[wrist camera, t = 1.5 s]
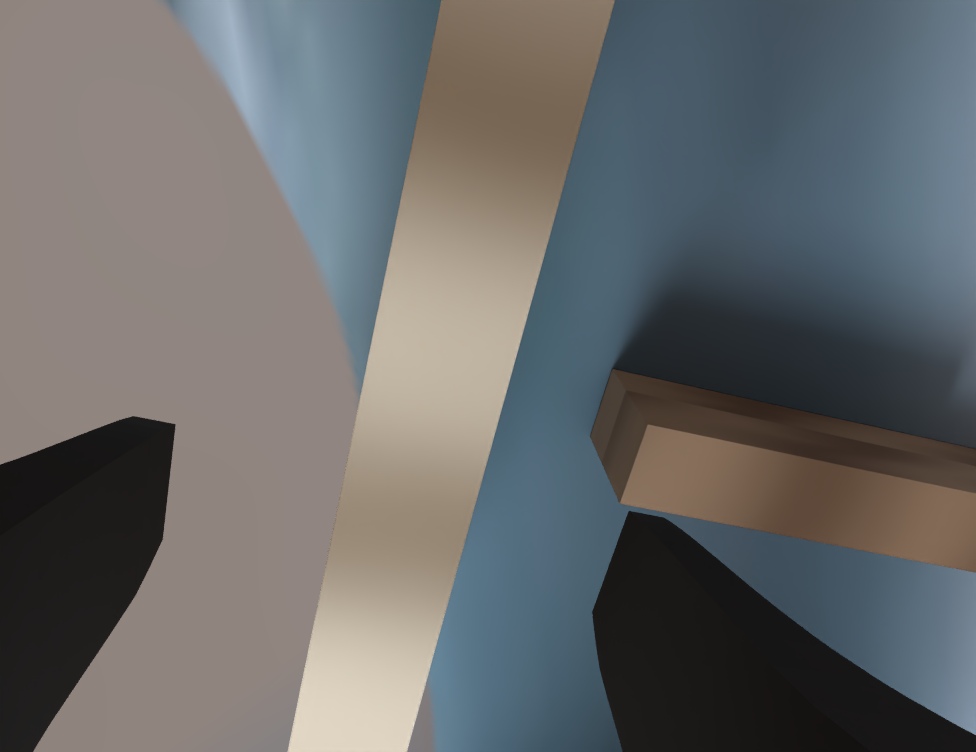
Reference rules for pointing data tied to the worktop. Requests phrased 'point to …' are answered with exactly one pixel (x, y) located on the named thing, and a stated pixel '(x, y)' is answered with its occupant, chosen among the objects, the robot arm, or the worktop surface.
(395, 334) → the cross piece
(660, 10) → the worktop surface
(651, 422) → the walnut stand
